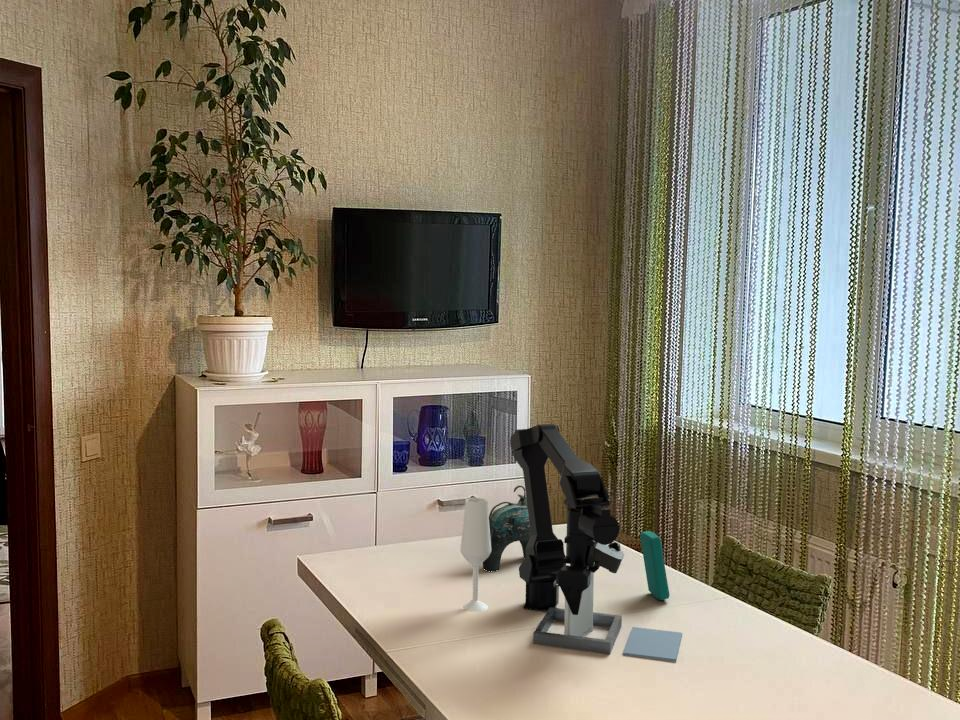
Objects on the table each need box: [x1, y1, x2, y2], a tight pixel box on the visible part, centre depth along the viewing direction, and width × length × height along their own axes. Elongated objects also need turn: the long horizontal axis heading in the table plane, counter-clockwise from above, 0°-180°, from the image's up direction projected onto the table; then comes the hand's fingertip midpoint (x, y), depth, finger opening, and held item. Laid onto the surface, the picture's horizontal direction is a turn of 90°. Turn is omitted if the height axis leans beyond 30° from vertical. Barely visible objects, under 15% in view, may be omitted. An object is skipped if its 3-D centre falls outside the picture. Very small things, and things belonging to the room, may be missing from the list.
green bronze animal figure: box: [482, 485, 531, 573], centre depth 236 cm, size 20×6×20 cm, turn 133°
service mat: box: [622, 626, 683, 663], centre depth 187 cm, size 10×14×1 cm
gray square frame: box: [532, 607, 623, 655], centre depth 191 cm, size 15×15×2 cm
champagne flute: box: [459, 497, 491, 612], centre depth 205 cm, size 7×7×24 cm
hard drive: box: [563, 572, 595, 637], centre depth 190 cm, size 2×8×12 cm, turn 138°
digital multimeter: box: [639, 530, 670, 601], centre depth 214 cm, size 7×15×3 cm
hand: (579, 607), depth 190 cm, fingers open, 8 cm apart
